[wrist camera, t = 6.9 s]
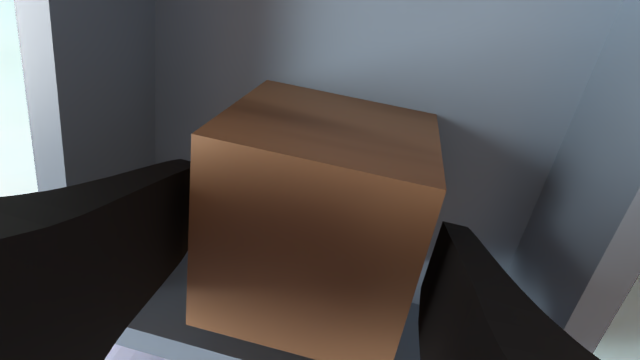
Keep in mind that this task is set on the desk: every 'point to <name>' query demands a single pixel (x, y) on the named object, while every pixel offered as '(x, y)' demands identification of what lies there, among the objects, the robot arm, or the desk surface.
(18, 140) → the desk surface
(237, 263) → the walnut cube
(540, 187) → the tote
